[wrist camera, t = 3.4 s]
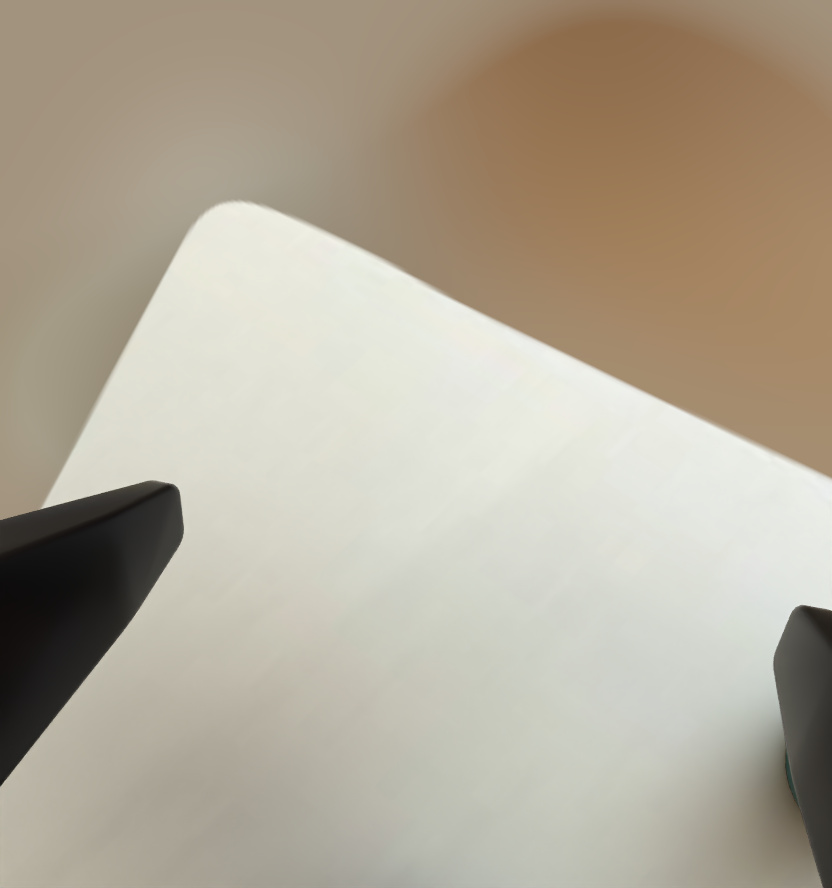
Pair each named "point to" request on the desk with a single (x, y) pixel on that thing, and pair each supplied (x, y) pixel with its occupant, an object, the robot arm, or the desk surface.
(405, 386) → the desk surface
